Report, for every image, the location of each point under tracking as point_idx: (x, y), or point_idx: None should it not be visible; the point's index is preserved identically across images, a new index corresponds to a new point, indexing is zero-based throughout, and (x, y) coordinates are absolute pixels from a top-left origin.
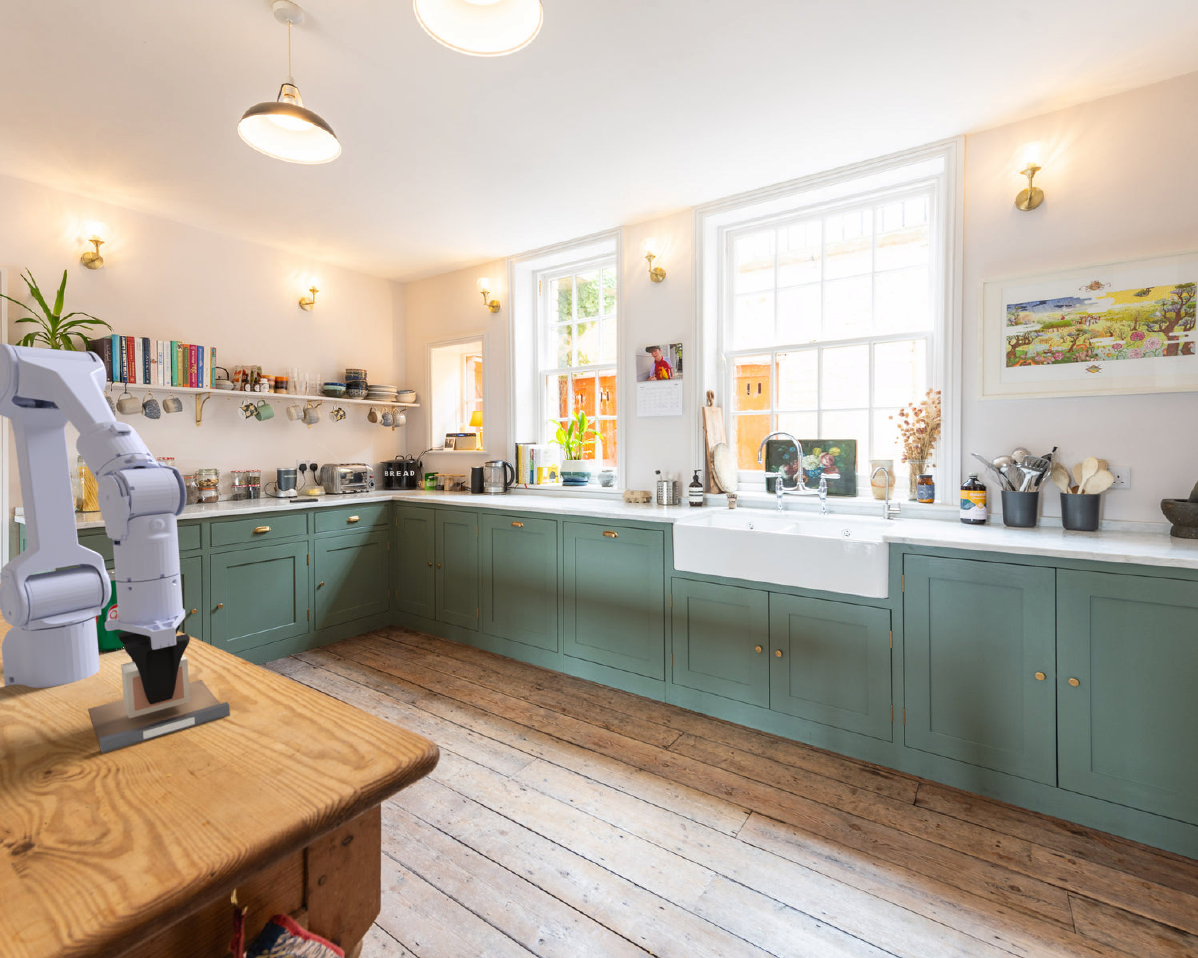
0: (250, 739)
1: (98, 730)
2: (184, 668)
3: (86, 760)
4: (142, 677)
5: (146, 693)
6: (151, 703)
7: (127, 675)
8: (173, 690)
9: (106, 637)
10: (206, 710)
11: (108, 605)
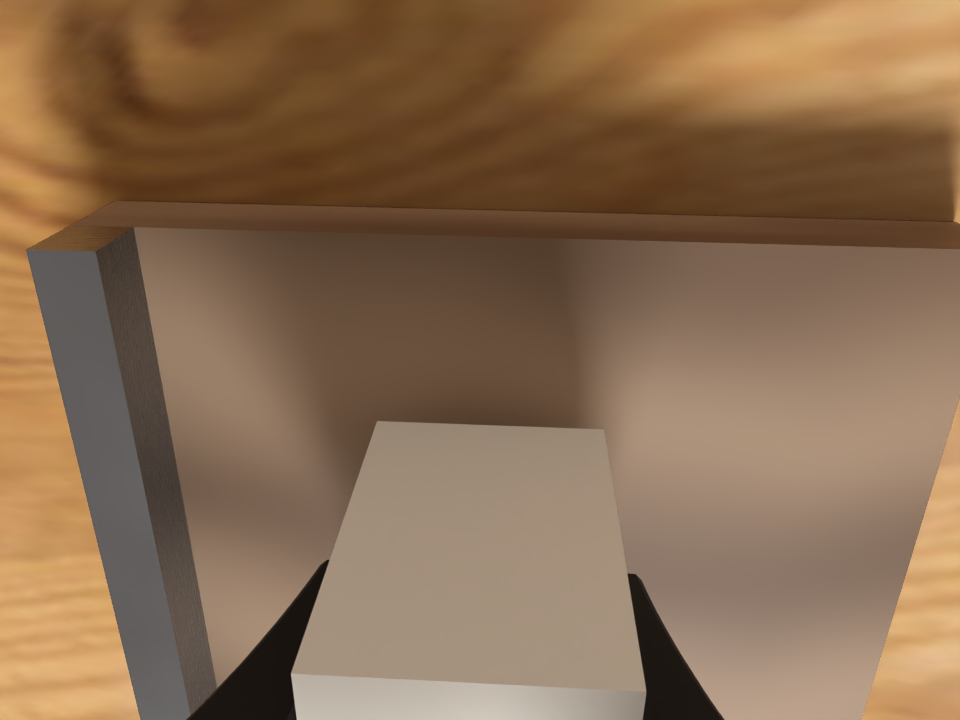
0: (26, 686)
1: (478, 252)
2: None
3: (291, 142)
4: (194, 714)
5: (288, 609)
6: (317, 569)
7: (305, 659)
8: None
9: None
10: (142, 702)
11: None
